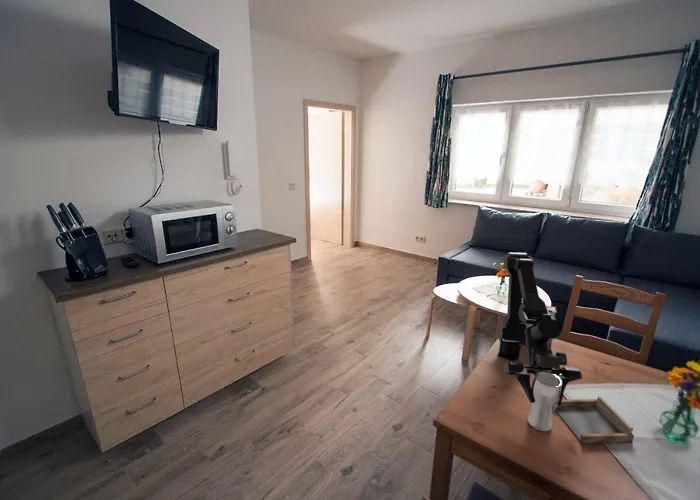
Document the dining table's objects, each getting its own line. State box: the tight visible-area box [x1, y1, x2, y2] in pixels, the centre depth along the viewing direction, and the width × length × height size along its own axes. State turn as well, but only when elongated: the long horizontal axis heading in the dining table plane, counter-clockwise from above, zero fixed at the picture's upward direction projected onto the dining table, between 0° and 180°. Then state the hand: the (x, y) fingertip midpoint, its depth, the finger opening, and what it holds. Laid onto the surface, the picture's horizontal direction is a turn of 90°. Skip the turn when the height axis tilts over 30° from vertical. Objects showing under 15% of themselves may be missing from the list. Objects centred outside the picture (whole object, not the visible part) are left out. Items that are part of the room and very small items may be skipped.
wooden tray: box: [554, 396, 635, 445], centre depth 95 cm, size 13×13×4 cm
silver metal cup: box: [527, 371, 562, 432], centre depth 93 cm, size 7×7×15 cm
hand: (545, 404), depth 92 cm, fingers closed on silver metal cup, 6 cm apart
